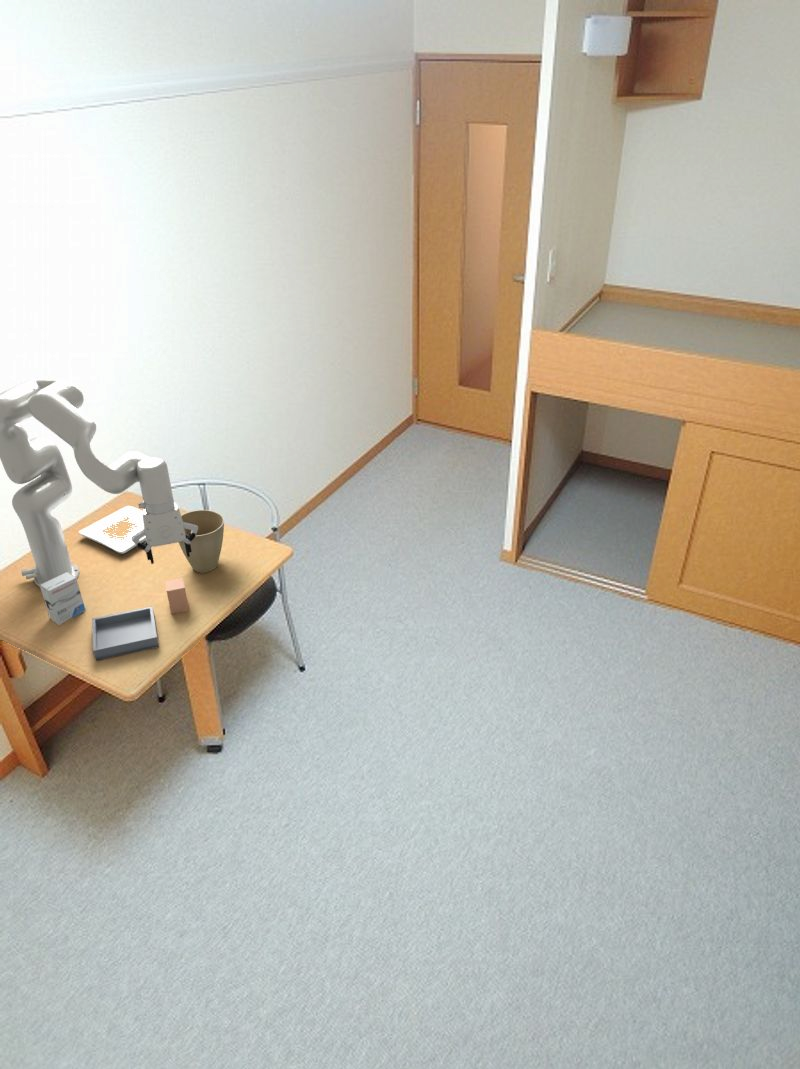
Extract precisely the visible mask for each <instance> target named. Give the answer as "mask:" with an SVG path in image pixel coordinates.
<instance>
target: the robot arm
mask: <svg viewBox="0 0 800 1069" xmlns="http://www.w3.org/2000/svg"><path fill="white" fill-rule="evenodd" d="M84 400H85V399H84V395H83V392H82V391H81V389H80V387H78V386H77V385H76V384H75V383H73V382H72V381H69V380H66V379H55V378H54V379H51V378H50V379H49V378H48V379H43V378H42V379H41V378H40V379H38V378H37V379H30V380H27V381H24V382H22V383H20V384H18V385H16V386H13V387H12V388H9V389H7V390H5V391H2V392H0V461H1V464H2V466H3V470H4V471H5V474H6V476H7V477H8V478H9V480H10V481H11V482H12V483H14V484H17V485H23V484H25V485H24V486H22V487H21V488H19V489H18V490H17V491H16V492H15V493H14V494H13V497H12V500H11V504H12V508H13V510H14V512H15V514H16V515H17V517H18V519H19V522H20V523H21V525H22V527H23V530H24V532H25V536H26V539H27V542H28V545H29V549H30V551H31V554H32V558H33V561H34V564H35V566H32V568H26V569H21V576H22V577H25V579H26V580H30V579H33V580H34V583H35V585H36V586H37V587H39V588H40V585H41V584H43V583H45V582H47V581H49V580H51V579H53V578H56V577H58V576H60V575H62V574H64V573H66V572H68V573H70V574H71V575H73V576H74V577H76V579H77V580H78V577H79V575H80V569H79V568H80V567H79V566H78V565H76V564H75V563H72V562H71V561H72V560H71V557H70V553H69V551H68V546H67V543H66V539H65V535H64V532H63V529H62V526H61V522H60V521H59V520H58V519H57V518H56V517H55V516H53V515H51V512H52V510H54V509H55V508H57V507H58V506H59V505H61V504H62V503H64V502H65V501H67V500H68V499H69V498H70V497H71V495H72V493H73V485H72V480H71V479H70V475H69V473H68V470H67V467H66V463H65V461H64V460H65V459H64V458H63V455H62V453H61V450H60V449H59V447H58V446H57V444H55V442H53V441H52V440H51V439H49V438H48V437H45V436H35V437H34V438H31V439H30V438H29V435H28V432H27V431H26V430H25V428H24V427H23V426H22V425H20V424H19V423H22V422H24V421H25V420H27V419H29V418H32V417H33V418H34V419H35V420H37V421H38V422H40V423H41V424H42V425H43V426H44V427H46V428H47V430H50V431H51V432H53V434H55V435H56V436H57V437H59V438H60V439H61V440H62V441H63V442H65V443H67V444H68V445H69V446H70V447H71V448H72V449H73V456H74V458H75V461H76V464H77V466H78V467H79V470H80V471H81V472H82V474H83V475H84V476H85V477H86V478H87V479H88V480H89V481H91V482H92V483H93V484H94V485H96V486H97V487H98V488H100V489H101V490H103V491H104V492H107V493H108V494H111V495H119V494H122V493H124V492H125V491H127V490H128V489H130V488H131V487H132V486H133V485H135V484H136V483H139V487H140V491H141V496H142V501H141V502H139V503H138V504H137V506H138V509H143V510H142V511H143V525H144V529H143V530H142V531H140V532H139V533H137V534H136V535H134V536H133V537H132V541H133V542H134V543H135V544H136V545H137V546H136V547H137V548H139V549H141V550H143V551H144V552H145V554H146V557H147V561H150V563H151V565H154V563H155V561H154V556H153V551H152V547H153V548H155V547H160V546H161V547H162V546H166V545H170V544H171V545H172V544H175V543H176V544H178V543H179V542H181V541H184V543H185V548H186V553H187V557H190V554H189V552H192V551H191V545H190V544H191V541H192V540H193V539H194V538H195V536H196V533H197V531H198V526H197V525H194V524H190V523H186V522H183V520H182V516H181V515H182V514H181V511H180V508H179V506H178V504H177V503H176V502H175V499H174V494H173V490H172V484H171V479H170V473H169V469H168V465H167V462H166V460H164V459H163V458H159V457H150V456H148V455H145V453H141V452H139V451H134V450H133V451H132V450H131V451H127V452H126V453H124V454H123V455H121V456H120V457H119V458H117V459H115V460H113V461H112V462H111V463H110V464H108V465H107V464H105V462H103V461H102V460H100V459H99V458H98V457H97V456H96V455H95V454H94V452H93V451H92V447H91V442H92V441H93V438H94V436H95V434H96V431H97V424H96V422H95V421H94V420H92V419H91V418H90V417H88V416H87V415H86V414H84V413H83V412H82V411H80V410H79V408H81V407H82V405H83V403H84ZM185 529H190V530H192V531H191V532H190V533H189V535H187V534H186V533H185ZM144 536H145V537H146V540H145V541H144V542H142V541H140V540H139V539H141V538H142V537H144Z"/></svg>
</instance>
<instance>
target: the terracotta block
mask: <svg viewBox="0 0 800 1069" xmlns="http://www.w3.org/2000/svg"><path fill="white" fill-rule="evenodd" d="M184 581H185V580H184V577H180V578H176V579H175V578H173V579H169V580H164V584H165V590H166V591H165V592H166V595H167V600H168V601H167V602H168V604H169V609H170V614H177V613H182V612H186V611H189V610H190V608H189V603H188V598H187V597H188V596H187V592H186V587H185V582H184Z"/></svg>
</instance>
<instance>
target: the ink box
mask: <svg viewBox="0 0 800 1069" xmlns="http://www.w3.org/2000/svg"><path fill="white" fill-rule="evenodd" d="M39 588H40V591H41V594H42V597H43V601H44V603H45V607H46V609H47V612H48V613H47V614H48V616H49V619H51V620H52V621H53V622H54V623H56V624H57V625H61V624H63V623H65V622H67V621H68V620H71V619H72V618H74V617H76V616H78V615H79V614H82V613H83V612H85V611H86V607H85V604H84V600H83V596H82V593H81V589H80V586H79V582H78V578H77V579H76V577H74V576H73V575H71V574H70V573H68V572H66V573H64V574H62V575H60V576H58V577H56V578H53V579H51V580H49V581H47V582H45V583H43V584H41V585H40V587H39Z"/></svg>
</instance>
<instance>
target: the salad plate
mask: <svg viewBox="0 0 800 1069" xmlns="http://www.w3.org/2000/svg"><path fill="white" fill-rule="evenodd" d="M127 517H128V518H129V519H128V520H127V521H123V520H125V519H127ZM124 518H125V519H124ZM120 521H123V522H128V521H129V522H128V523H132V524H135V525H132V526H130V527H132V528H133V529H132V528H129V529H127V530H129V531H131V532H128V533H126V534H127V535H124V536H117V535H114V534H116V533H114V534H112V535H113V536H116V537H113V538H110V537H112V536H109V535H108V534H110V533H106V532H103V530H105V529H107V527H108V528H112V527H110V526H112V524H113V525H115V526H117V525H116V524H119V523H117V522H120ZM130 525H131V524H130ZM128 526H129V525H128ZM135 526H137V527H135ZM113 527H114V526H113ZM115 528H118V527H115ZM112 529H113V528H112ZM130 529H131V530H130ZM143 529H144V525H143V510H141V508H137V507H134V506H131V505H126V506H124V507H122V508H120V509H118V510H116V511H114V512H112V513H111V514H109V515H106V516H105V517H103V518H101V519H99V520H97V521H95V522H93V523H91V524H90V525H88V526H86V527H84V528H81V529H80V530H79V531H78V534H79V535H81V536H83V537H85V538H86V539H89V540H92V541H94V542H96V543H99V544H101V545H102V546H105V547H107V548H109V549H111V550H113V551H115V552H117V553H118V554H126V553H128V552H130V551H131V550H133V549H134V548H135V547H138V546H137V545H136V544H135V543H134V542H133V541H132V537H133V536H134V535H136V534H137V533H139V532H140V531H142V530H143ZM109 530H110V529H109ZM115 530H116V529H115ZM105 531H108V530H105ZM113 531H114V530H113ZM104 533H105V534H104ZM123 533H124V532H123ZM126 536H127V537H126ZM117 537H124V539H123V538H117ZM115 538H116V539H115ZM121 539H122V540H121ZM139 540H140V541H142V542H143V543H145V542H146V537H145V536H144V537H142V538H141V539H139Z"/></svg>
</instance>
